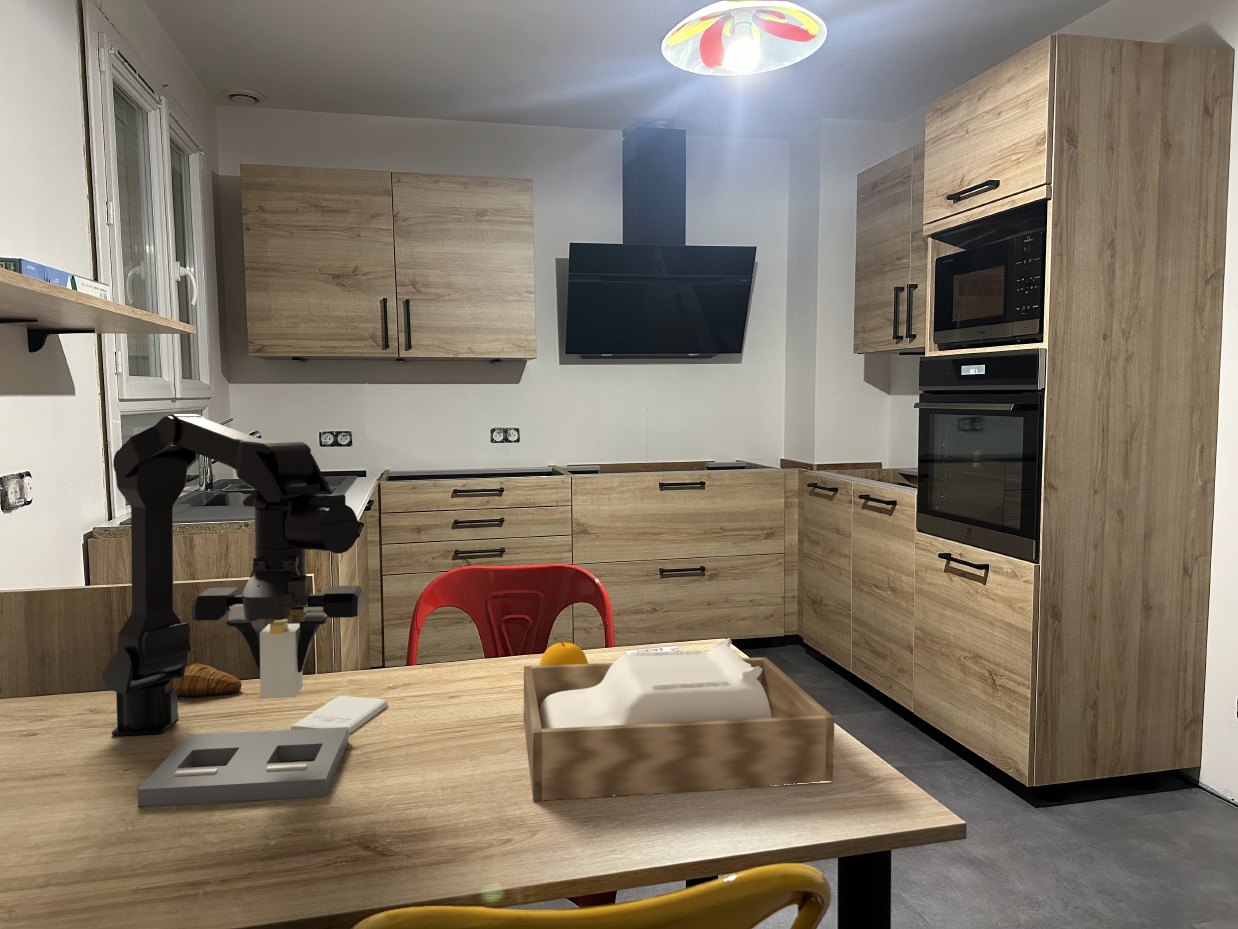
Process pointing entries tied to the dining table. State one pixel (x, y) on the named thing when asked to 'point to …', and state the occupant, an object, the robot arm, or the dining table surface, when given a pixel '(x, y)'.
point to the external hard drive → (342, 713)
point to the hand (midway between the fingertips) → (281, 671)
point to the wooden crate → (675, 743)
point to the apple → (563, 655)
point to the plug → (280, 660)
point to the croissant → (205, 682)
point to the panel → (246, 767)
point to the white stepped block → (664, 691)
